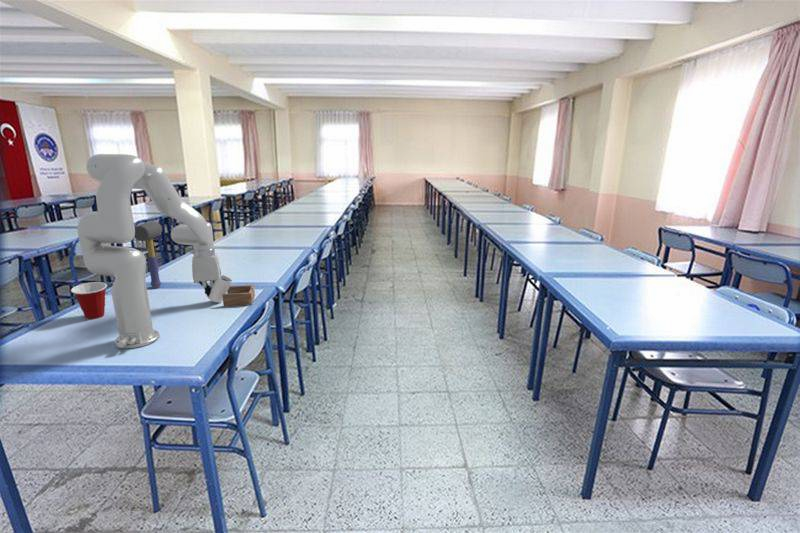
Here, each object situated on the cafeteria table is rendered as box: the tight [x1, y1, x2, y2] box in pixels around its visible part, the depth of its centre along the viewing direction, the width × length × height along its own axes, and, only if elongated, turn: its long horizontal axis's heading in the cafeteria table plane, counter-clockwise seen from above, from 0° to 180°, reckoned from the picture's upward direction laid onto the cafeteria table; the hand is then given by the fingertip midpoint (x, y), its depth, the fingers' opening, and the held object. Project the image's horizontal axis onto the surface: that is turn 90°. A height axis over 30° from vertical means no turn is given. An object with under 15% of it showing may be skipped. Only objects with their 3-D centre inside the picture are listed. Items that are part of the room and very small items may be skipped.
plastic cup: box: [70, 281, 108, 320], centre depth 153 cm, size 11×11×12 cm
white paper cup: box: [207, 274, 233, 304], centre depth 171 cm, size 7×7×10 cm
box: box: [222, 284, 256, 307], centre depth 173 cm, size 11×11×5 cm
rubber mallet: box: [134, 220, 163, 289], centre depth 184 cm, size 12×8×30 cm, turn 3°
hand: (209, 295), depth 171 cm, fingers closed
